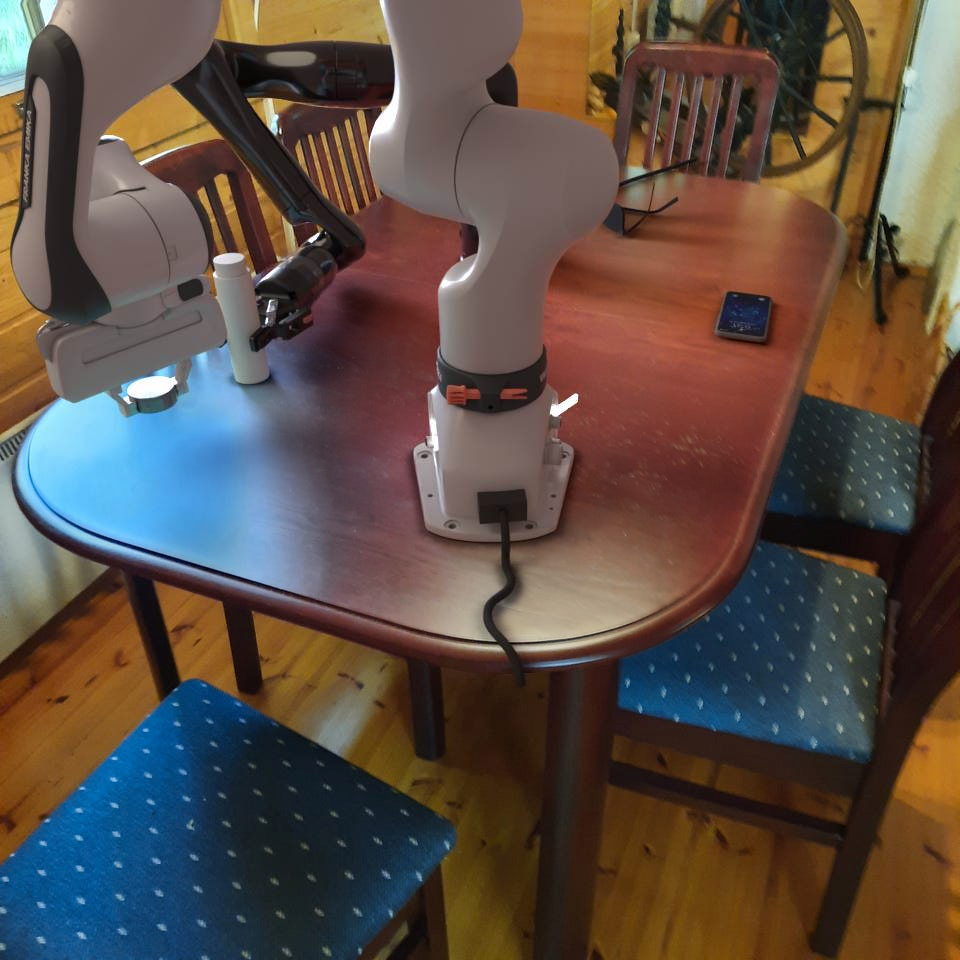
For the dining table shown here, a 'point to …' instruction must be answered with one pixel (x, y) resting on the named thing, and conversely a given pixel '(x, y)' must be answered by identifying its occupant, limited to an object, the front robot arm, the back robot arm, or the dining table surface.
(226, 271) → the white cylinder
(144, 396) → the lid
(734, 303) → the smartphone
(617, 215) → the sunglasses
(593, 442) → the dining table surface
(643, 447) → the dining table surface
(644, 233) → the dining table surface
